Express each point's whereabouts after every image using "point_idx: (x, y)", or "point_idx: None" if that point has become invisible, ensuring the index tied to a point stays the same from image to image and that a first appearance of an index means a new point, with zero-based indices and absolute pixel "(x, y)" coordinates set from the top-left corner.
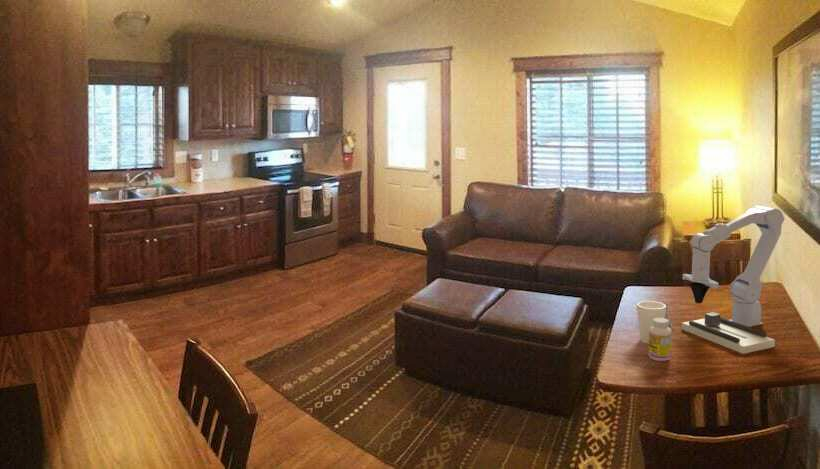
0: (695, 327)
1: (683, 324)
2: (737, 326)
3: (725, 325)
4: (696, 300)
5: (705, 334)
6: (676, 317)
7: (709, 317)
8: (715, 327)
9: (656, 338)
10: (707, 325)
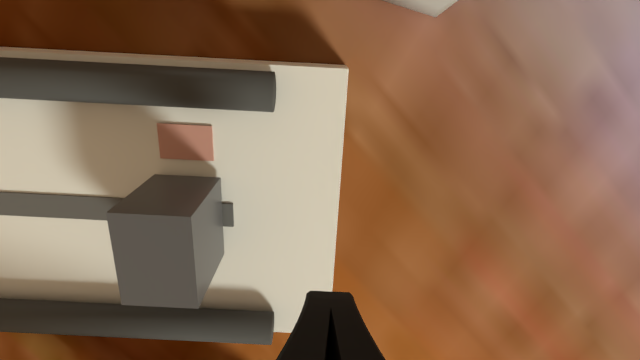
0: None
1: (330, 68)
2: (77, 305)
3: None
4: (326, 307)
5: (100, 53)
6: (530, 229)
7: (146, 205)
8: None
9: None
10: (192, 176)
